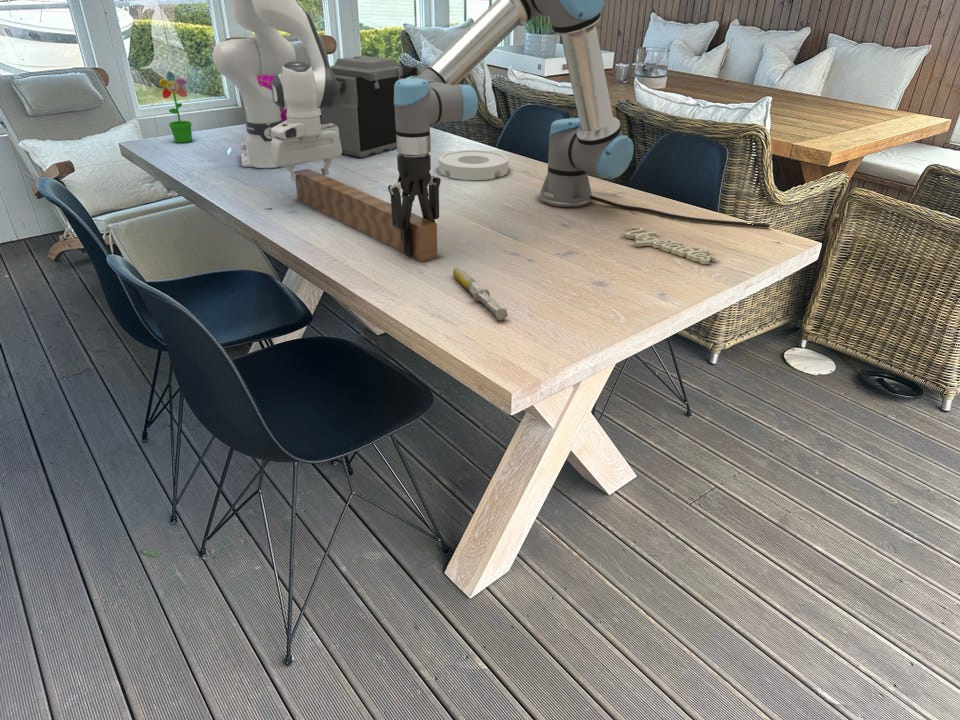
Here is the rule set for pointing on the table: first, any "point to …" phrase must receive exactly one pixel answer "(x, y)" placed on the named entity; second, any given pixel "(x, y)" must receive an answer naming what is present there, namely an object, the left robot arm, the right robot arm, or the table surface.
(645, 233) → the decorative sign
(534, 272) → the table surface
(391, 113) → the cooler box
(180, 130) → the potted flower
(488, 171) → the ashtray
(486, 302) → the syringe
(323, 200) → the post
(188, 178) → the table surface
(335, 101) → the left robot arm
